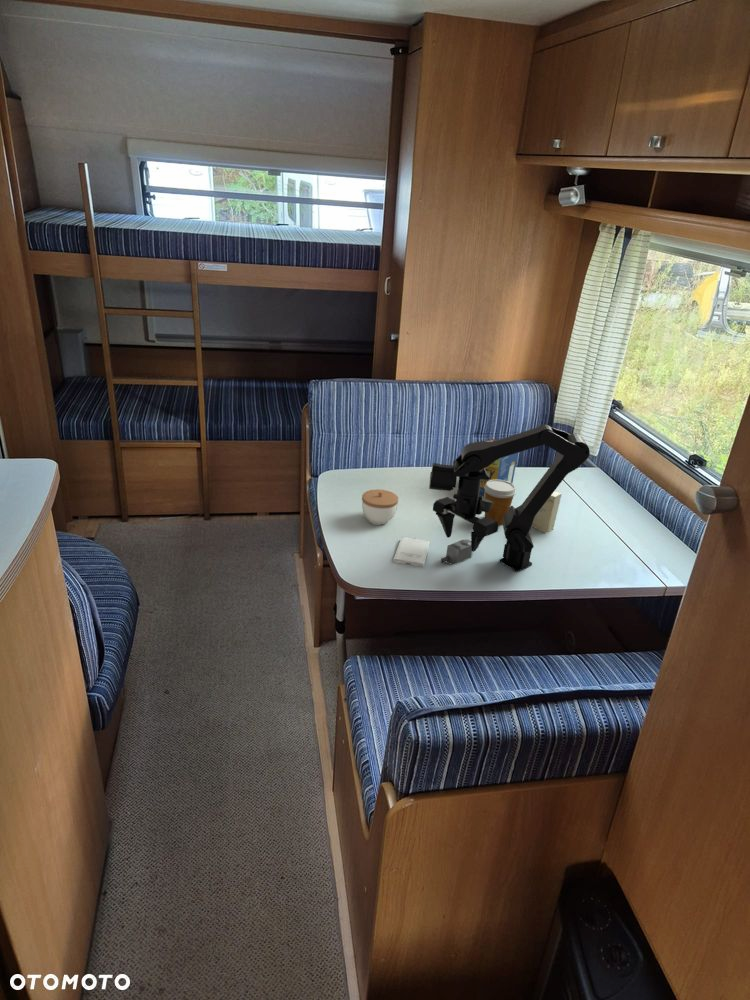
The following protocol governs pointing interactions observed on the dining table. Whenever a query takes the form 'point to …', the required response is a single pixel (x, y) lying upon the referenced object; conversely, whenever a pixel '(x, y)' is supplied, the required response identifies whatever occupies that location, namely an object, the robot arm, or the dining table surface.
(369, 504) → the lidded jar
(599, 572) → the dining table surface
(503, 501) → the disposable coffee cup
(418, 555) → the external hard drive
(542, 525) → the skincare box
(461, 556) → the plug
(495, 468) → the protein box
